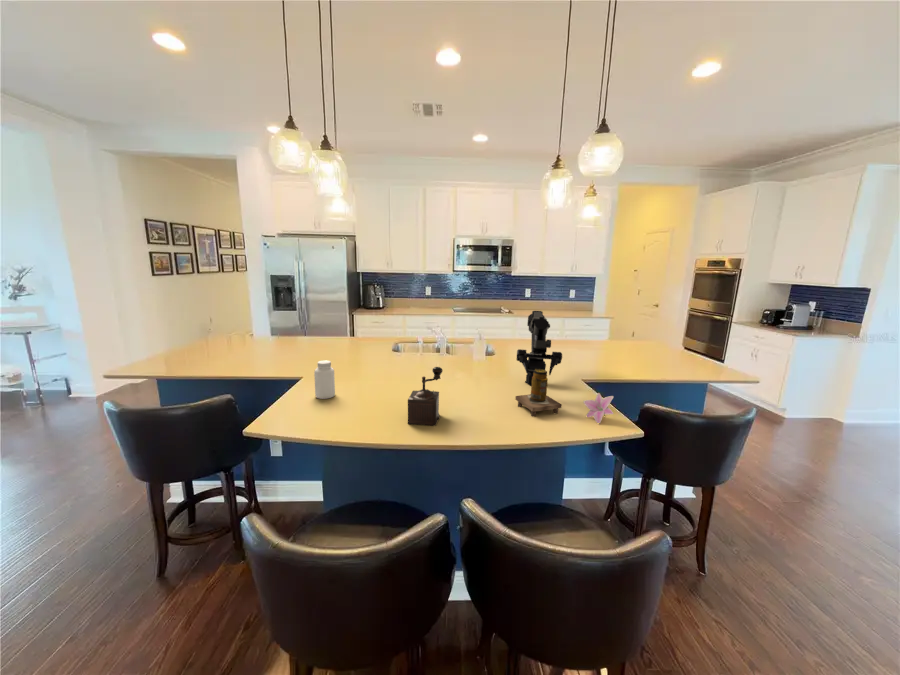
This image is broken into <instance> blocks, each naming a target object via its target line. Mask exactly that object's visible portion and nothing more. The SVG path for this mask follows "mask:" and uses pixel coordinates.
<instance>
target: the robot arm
mask: <svg viewBox="0 0 900 675" xmlns="http://www.w3.org/2000/svg"><path fill="white" fill-rule="evenodd" d="M527 316H528V317H527V324H526V325H527V327H528V332H530V334H531V341H530V342H531V344H530V345H531V349H530V350H531V352H527V349H523V348H522V349H519V348H518V349H517V350H516V360H515V361H517V362H519V363H521V364H522V366H523V367H524V370H525V373H526V375H525V376H526V377H525V380H524V383H526V384H527V385H529V386H530V387H531V386H532V377H533V374H534V370H536V369H542V370H546V369H547V368H546V367H547V363H546V361H545V360H550V363H549V364H550V365H549V370H548V375H549V376H551V374H552V372H553V369H554V368H555V366H558V365H560V364H561V363H562V359H563V353H562V352H561V351H552V353H551V354H547V351H548V350H547V348H548V349H550V348H551V347H552V339H547V336H546V335H547V334H548V330H549V329H550V328H551V324H550V323H549V321H548V319H547V318H546V317H545V315H544V312H543V311H542V310H532V312H531V314H529V315H527Z"/></svg>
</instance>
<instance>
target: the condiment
mask: <svg viewBox="0 0 900 675" xmlns="http://www.w3.org/2000/svg"><path fill="white" fill-rule="evenodd" d="M530 388H531V389H530V394H531V395H529V394H526V395H527V396H528V398H529V400H530V402H531V403H537V404H549V402H548V400H547V399H546V395H547V389H548V371H547V370H546V369H545V370H542V369H536V370H534V374H533V377H532V386H530Z"/></svg>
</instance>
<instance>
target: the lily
mask: <svg viewBox="0 0 900 675" xmlns="http://www.w3.org/2000/svg"><path fill="white" fill-rule="evenodd" d="M613 399H614V395H610V396H606V397H603V398H602V395H601V393H600V392H598V393H597V394H596V396H595V399H586V400H583V404H584V405H585V406H586V407H587V409H588V411H587V414H586V415H585V417H586V416H587V417H588V418H590V417H593V418H594V421H595V423H596V422H597V423H600V424H601V422H602V419H603V417H604V416H605V417H606V415H614V412H613V411H612V409H611V408H610V407H609V405H610V404H611V402H612V400H613ZM597 423H596V424H597Z"/></svg>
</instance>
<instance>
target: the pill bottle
mask: <svg viewBox="0 0 900 675" xmlns="http://www.w3.org/2000/svg"><path fill="white" fill-rule="evenodd" d="M313 373H314V375H313V376H314V394H315V396H314V397H316V398H317V399H321V400H322V399H323V400H326V399H331V398H333V397H335V394H336V386H335V385H336V384H335V369H334V368H333V367H332V361H331V360H326V359H325V360H318V361H317V367H316V368H315V370H314V372H313Z"/></svg>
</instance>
